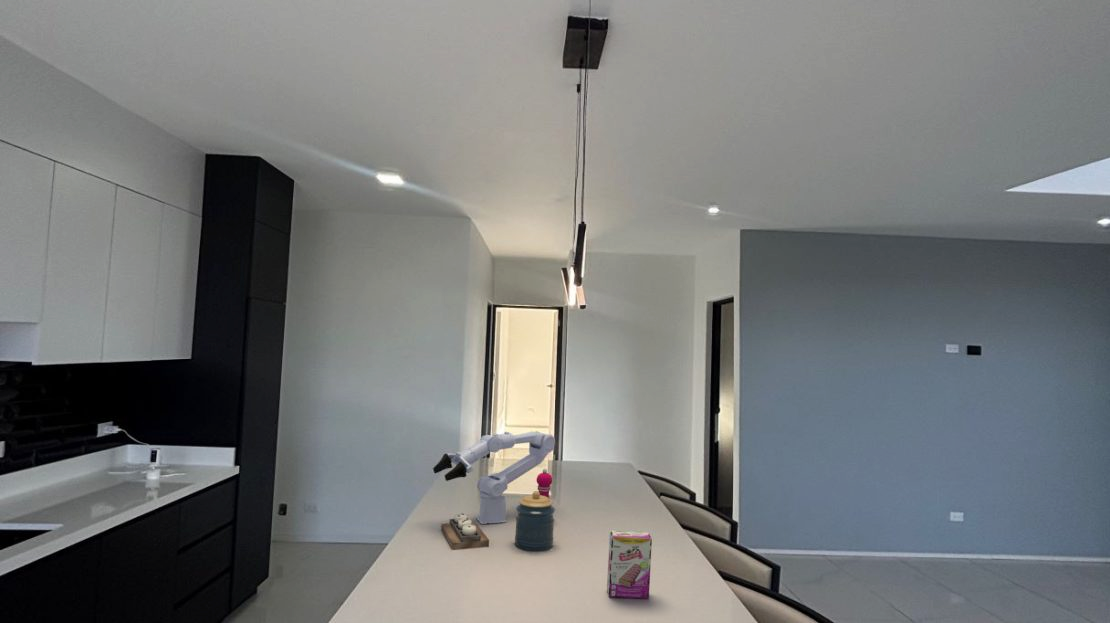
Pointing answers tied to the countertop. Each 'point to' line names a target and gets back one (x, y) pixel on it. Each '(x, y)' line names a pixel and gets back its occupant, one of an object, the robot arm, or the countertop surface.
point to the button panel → (463, 536)
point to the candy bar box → (629, 564)
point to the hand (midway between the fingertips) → (439, 474)
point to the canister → (534, 523)
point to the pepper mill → (544, 483)
